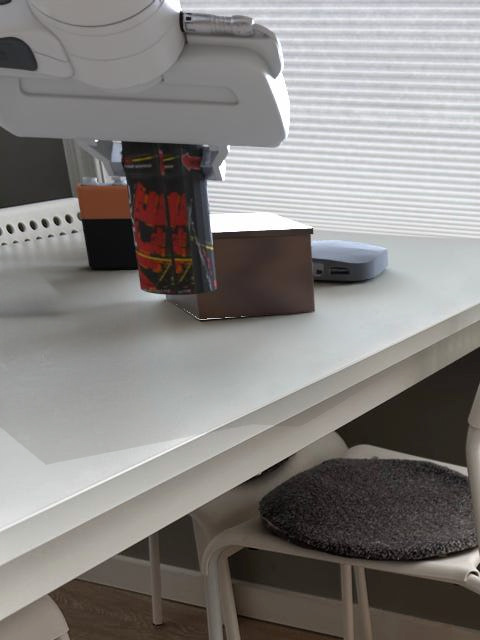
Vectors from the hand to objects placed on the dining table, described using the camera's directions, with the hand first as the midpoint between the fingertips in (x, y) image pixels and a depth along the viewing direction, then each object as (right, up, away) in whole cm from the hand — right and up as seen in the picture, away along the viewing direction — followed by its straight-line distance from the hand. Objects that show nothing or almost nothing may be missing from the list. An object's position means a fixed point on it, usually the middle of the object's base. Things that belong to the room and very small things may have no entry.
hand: (167, 171), depth 73 cm
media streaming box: (+5, +9, +45) cm, 46 cm away
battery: (-20, +10, +43) cm, 49 cm away
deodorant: (0, -8, +4) cm, 9 cm away
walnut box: (-1, -1, +26) cm, 26 cm away
